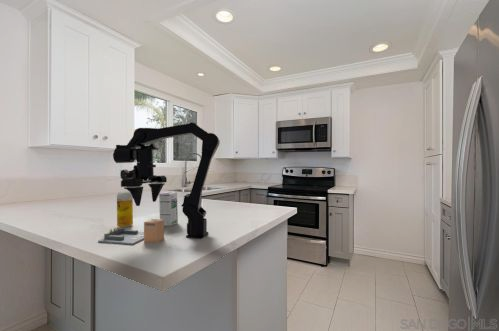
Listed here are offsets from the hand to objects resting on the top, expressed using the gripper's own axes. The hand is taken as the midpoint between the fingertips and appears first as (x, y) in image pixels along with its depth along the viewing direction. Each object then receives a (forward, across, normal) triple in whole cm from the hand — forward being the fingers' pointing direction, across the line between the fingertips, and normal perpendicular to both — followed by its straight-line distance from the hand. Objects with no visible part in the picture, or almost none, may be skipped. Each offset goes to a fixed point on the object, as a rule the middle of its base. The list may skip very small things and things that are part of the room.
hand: (146, 203), depth 88 cm
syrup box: (+13, -18, -3) cm, 22 cm away
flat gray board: (+12, +3, -6) cm, 14 cm away
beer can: (+12, -10, -19) cm, 25 cm away
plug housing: (+13, +3, +5) cm, 14 cm away
